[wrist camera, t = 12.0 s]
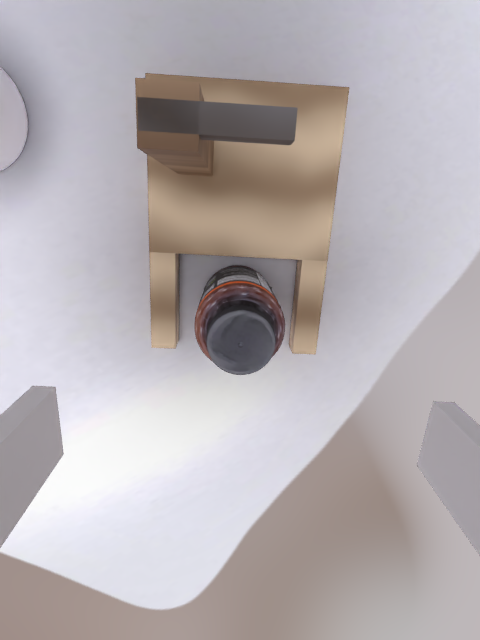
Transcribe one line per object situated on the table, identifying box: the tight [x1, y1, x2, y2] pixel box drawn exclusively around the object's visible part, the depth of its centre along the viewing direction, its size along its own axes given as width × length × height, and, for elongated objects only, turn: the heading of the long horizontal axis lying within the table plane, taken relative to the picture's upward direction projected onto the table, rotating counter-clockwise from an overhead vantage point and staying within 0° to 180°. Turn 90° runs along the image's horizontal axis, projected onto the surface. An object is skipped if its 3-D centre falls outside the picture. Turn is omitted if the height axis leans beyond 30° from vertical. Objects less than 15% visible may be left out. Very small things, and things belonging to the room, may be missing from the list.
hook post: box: [135, 78, 298, 176], centre depth 20 cm, size 2×6×12 cm, turn 87°
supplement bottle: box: [195, 266, 285, 375], centre depth 26 cm, size 6×6×11 cm
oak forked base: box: [145, 73, 349, 354], centre depth 28 cm, size 20×14×2 cm
